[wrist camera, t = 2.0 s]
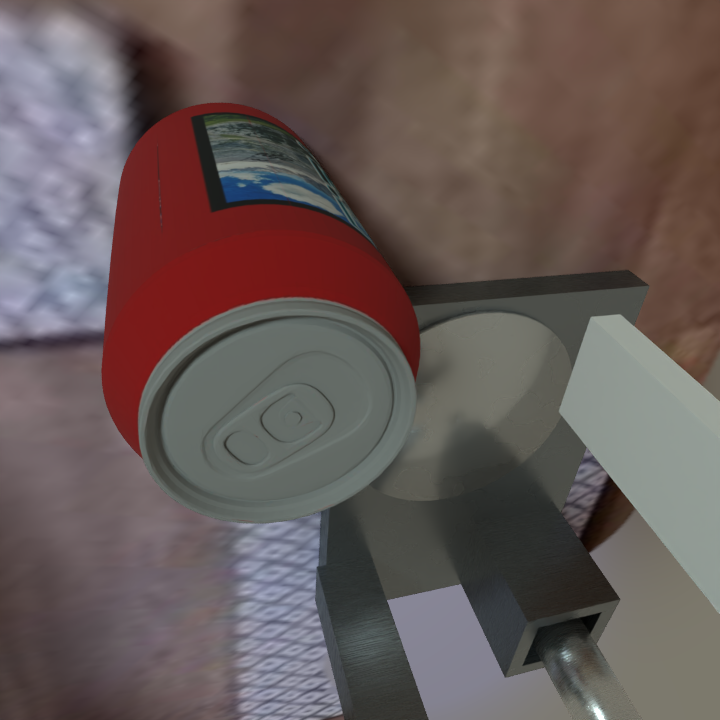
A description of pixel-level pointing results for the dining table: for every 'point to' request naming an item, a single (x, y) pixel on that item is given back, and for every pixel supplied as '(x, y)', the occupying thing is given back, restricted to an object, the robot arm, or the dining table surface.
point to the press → (472, 488)
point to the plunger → (582, 673)
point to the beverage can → (251, 323)
